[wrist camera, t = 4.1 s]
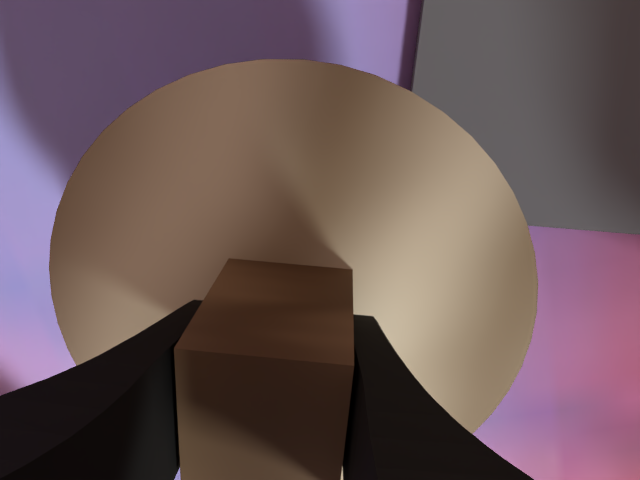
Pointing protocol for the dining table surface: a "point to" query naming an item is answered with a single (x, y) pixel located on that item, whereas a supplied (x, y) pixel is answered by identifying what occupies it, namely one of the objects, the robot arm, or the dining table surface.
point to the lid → (294, 256)
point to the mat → (544, 100)
